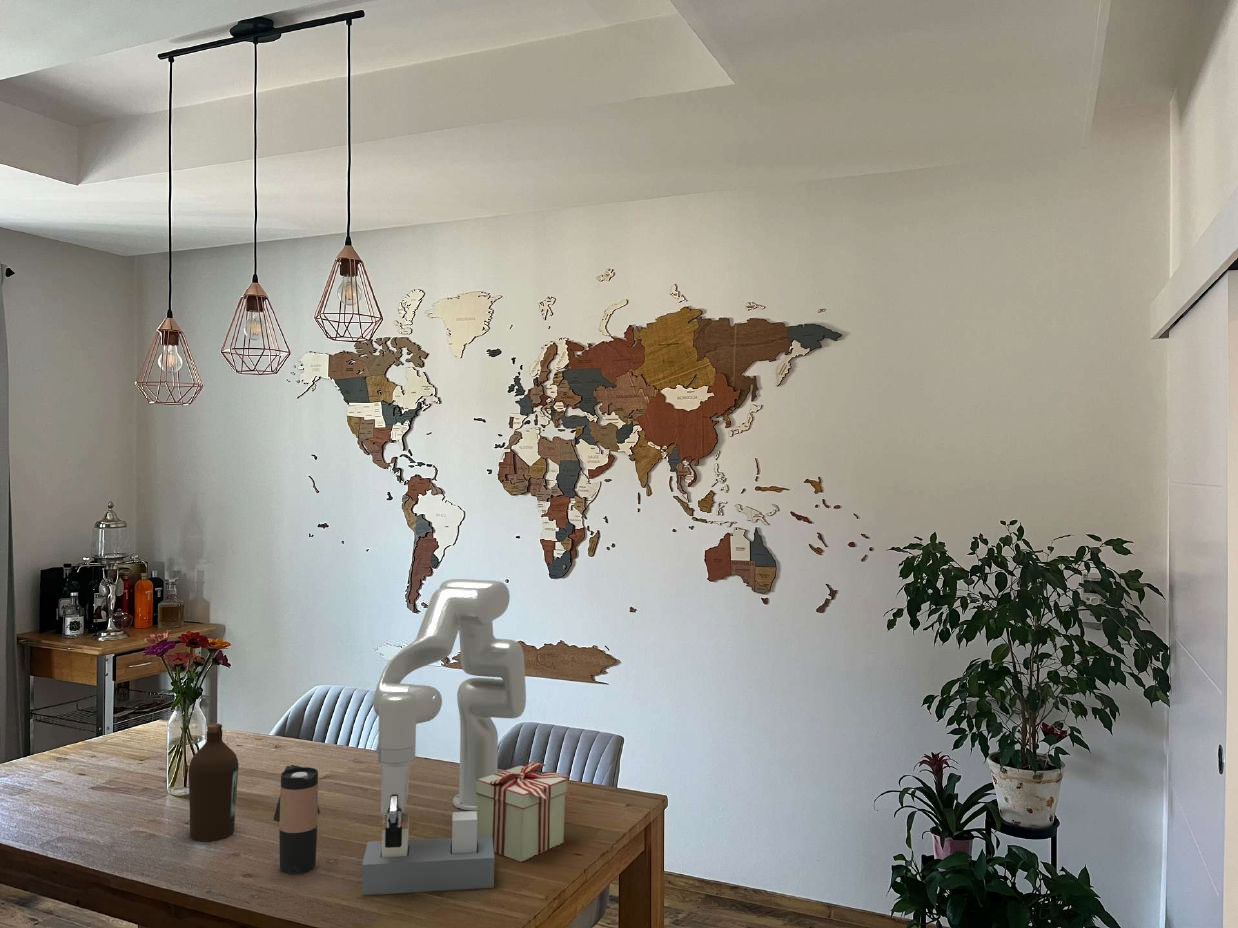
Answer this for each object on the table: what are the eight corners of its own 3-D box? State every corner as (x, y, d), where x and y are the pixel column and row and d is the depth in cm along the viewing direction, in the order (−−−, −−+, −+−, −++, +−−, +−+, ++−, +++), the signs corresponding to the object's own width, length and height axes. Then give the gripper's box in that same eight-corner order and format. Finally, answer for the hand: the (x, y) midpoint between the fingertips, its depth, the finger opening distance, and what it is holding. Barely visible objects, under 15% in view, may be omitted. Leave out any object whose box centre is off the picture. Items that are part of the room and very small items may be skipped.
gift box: (536, 867, 201) (537, 786, 201) (470, 848, 210) (471, 771, 211) (581, 842, 215) (582, 766, 215) (517, 825, 225) (518, 753, 225)
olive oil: (187, 845, 209) (190, 733, 210) (186, 829, 219) (188, 721, 219) (238, 838, 214) (241, 728, 215) (235, 822, 224) (237, 717, 224)
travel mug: (284, 860, 202) (286, 766, 203) (320, 859, 203) (322, 766, 203) (274, 875, 195) (276, 778, 195) (311, 874, 195) (313, 777, 196)
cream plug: (407, 871, 196) (409, 813, 196) (406, 882, 191) (407, 822, 191) (382, 873, 195) (383, 814, 195) (380, 883, 190) (382, 823, 190)
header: (491, 863, 202) (492, 804, 203) (493, 887, 191) (495, 824, 191) (367, 870, 198) (368, 809, 198) (361, 895, 186) (362, 831, 186)
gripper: (381, 742, 201) (379, 823, 201) (374, 766, 184) (372, 855, 184) (417, 741, 203) (415, 821, 202) (413, 765, 186) (411, 853, 185)
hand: (394, 837), depth 193 cm, fingers open, 9 cm apart
